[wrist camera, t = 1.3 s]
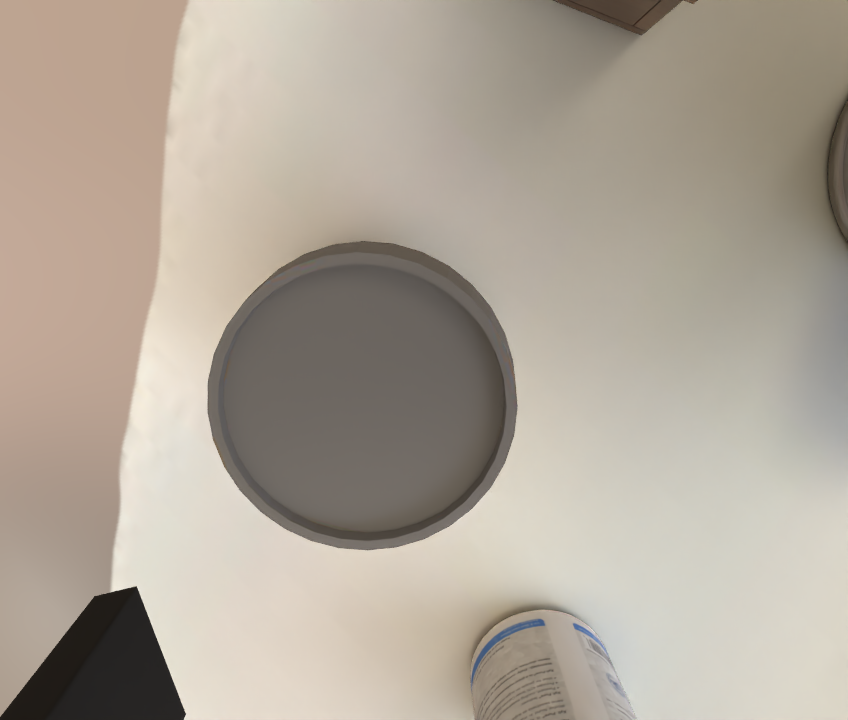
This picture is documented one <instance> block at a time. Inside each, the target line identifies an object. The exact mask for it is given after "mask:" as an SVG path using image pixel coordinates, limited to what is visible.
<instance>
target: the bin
mask: <svg viewBox="0 0 848 720" xmlns="http://www.w3.org/2000/svg"><path fill="white" fill-rule="evenodd" d="M554 1H556V2H559V3H561V4H564V5H566V6H569V7H571V8H574V9H576V10H579V11H581V12H584V13H587V14H589V15H592V16H594V17H597V18H599V19H602V20H604V21H607V22H609V23H612V24H614V25H617V26H619V27H622V28H625V29H627V30H630V31H632V32H635V33H637V34H640V35H643V34H644V33H645V32H646V31H647V30H648V29H650V28H651V27H652V26H653V25H654V24H656V23H657V22H658V21H659V20H660V19H662V18H663V17H664V16H665V15H666V14H667V13H669V12H670V11H671V10H672V9H673V8H675V7H676V6H677V5H678V4H679V3H681V2H682V1H683V0H554Z"/></svg>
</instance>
